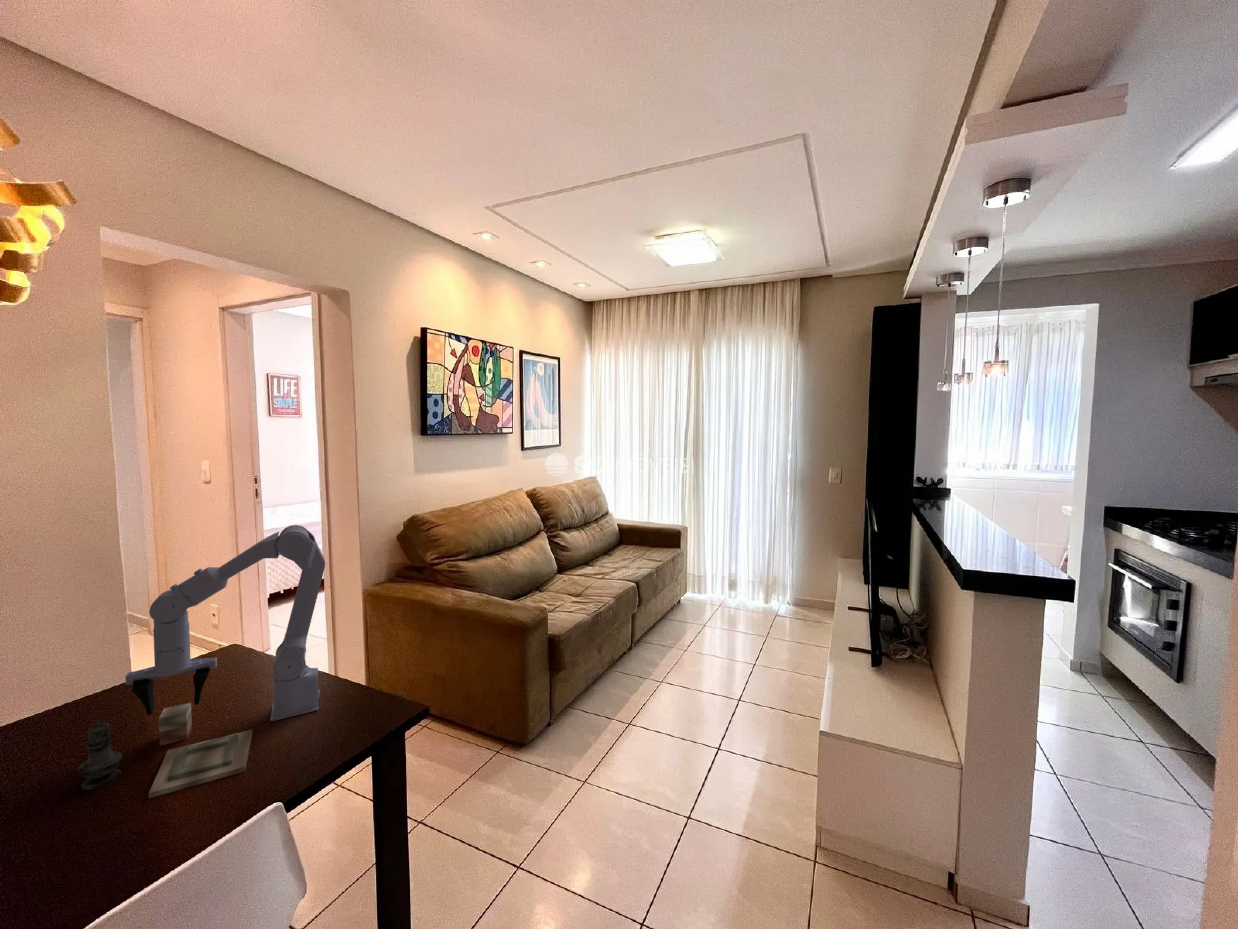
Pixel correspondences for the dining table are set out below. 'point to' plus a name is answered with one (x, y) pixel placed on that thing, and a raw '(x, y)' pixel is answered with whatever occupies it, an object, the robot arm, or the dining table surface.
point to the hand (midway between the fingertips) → (174, 707)
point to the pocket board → (202, 763)
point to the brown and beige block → (175, 724)
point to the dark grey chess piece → (99, 758)
